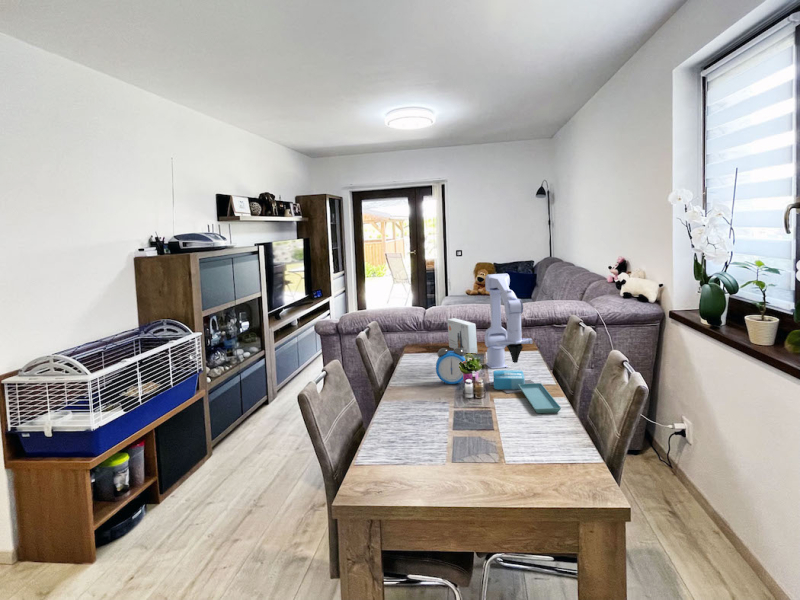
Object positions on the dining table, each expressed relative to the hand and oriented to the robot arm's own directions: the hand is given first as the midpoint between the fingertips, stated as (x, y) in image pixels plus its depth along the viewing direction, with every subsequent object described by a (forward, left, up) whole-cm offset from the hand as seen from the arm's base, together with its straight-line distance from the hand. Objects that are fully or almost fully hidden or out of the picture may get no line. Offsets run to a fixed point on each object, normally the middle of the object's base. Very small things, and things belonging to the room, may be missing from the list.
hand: (515, 362), depth 211 cm
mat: (+4, 0, -9) cm, 10 cm away
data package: (-5, -1, -7) cm, 8 cm away
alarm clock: (-11, -24, -10) cm, 28 cm away
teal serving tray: (+22, 0, -9) cm, 24 cm away
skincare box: (-65, -5, -10) cm, 66 cm away
